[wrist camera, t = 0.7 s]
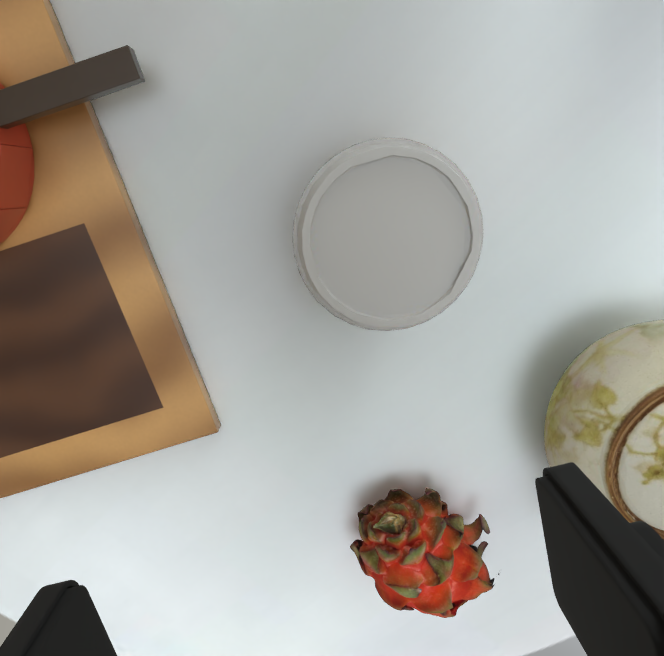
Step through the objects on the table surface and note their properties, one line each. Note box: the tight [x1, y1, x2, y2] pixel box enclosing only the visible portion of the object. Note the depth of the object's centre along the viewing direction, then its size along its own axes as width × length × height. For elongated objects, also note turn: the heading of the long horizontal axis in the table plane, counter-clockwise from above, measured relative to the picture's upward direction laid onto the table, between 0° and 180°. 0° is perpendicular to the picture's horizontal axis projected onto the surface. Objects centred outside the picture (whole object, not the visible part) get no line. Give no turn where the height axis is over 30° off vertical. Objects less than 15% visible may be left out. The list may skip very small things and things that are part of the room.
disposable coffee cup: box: [293, 138, 483, 331], centre depth 31 cm, size 10×10×12 cm
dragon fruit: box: [350, 488, 499, 618], centre depth 40 cm, size 8×8×12 cm
